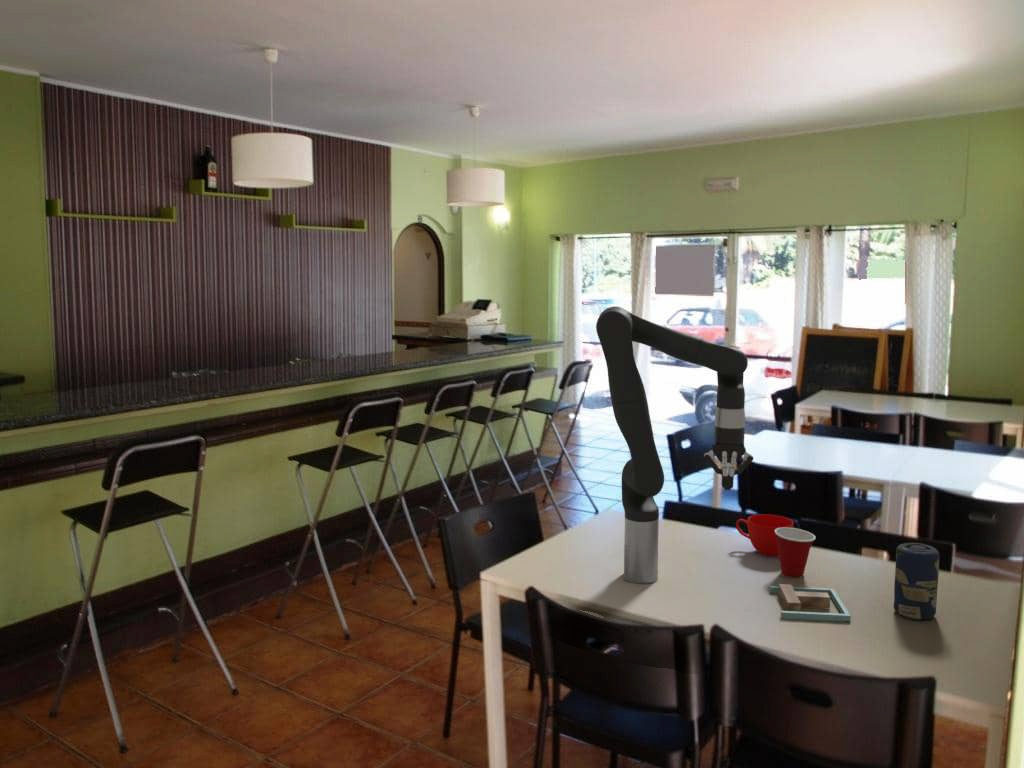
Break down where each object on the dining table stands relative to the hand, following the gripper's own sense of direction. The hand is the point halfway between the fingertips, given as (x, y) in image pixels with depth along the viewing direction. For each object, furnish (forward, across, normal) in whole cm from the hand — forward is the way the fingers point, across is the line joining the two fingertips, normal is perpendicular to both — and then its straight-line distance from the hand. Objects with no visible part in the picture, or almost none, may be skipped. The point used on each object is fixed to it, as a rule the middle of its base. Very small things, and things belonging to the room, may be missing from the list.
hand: (727, 489), depth 216 cm
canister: (+27, +44, -12) cm, 53 cm away
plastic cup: (+27, +20, +12) cm, 36 cm away
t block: (+27, +19, -9) cm, 34 cm away
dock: (+27, +19, -10) cm, 34 cm away
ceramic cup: (+27, +15, +30) cm, 43 cm away
